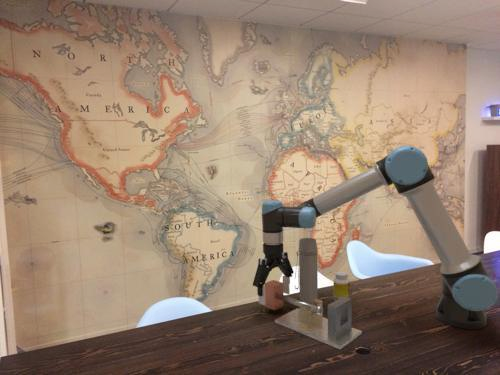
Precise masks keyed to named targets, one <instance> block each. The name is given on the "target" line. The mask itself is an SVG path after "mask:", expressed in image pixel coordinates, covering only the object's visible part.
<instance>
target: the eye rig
mask: <svg viewBox="0 0 500 375" xmlns="http://www.w3.org/2000/svg"><path fill="white" fill-rule="evenodd" d="M352 301H353V300H352V298H350V297H349V298H347V297H344V296H343V297H341V298H339V299H338V300H336V301H335V300H334V301H333V302H331V303H329V304H327V317H324V316H323V315H324V314H323V313H324V312H323V313H322V314H320V315H318V314H316V313H315V312H313V311H311V306H308V305H305V304H303V305H301V306H300V307H297V308H296V309H292V310H291V311H289V312H287V313H285V314H283V315H281V316H279V317H278V318H275V319H274V323H275V324H278V325H281V326H282V327H285V328H286V329H290V330H292V331H294V332H297V333H299V334H301V335H305V336H307V337H309V338H311V339H314V340H316V341H319V342H321V343H323V344H326V345H328V346H330V347H333V348H336V349H338V350H341V349H343V348H345V347H346V346H347V345H349V344H350V343H352V342H353V341H354V340H355V339H357V338H358V337H359V336H360V335H362V333H363V332H362V331H363V330H361V329H357V328H354V327H352V324H353V323H352V316H353V315H352V313H353V311H352V310H353V309H352V308H353V307H352ZM312 305H315V306H321V307H322V308H323V300H321V299H319V298H318V299H316V298H315V299H313V300H312Z"/></svg>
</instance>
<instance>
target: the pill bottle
mask: <svg viewBox="0 0 500 375" xmlns="http://www.w3.org/2000/svg"><path fill="white" fill-rule="evenodd" d="M334 276H335V278H333V300H334V301H336V300H338V299H339V298H341V297H343V296H344V297H347V298H350V279H349V278H348V277H349V276H348V273H347V272H344V271H337V272H335V274H334Z"/></svg>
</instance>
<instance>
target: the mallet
mask: <svg viewBox="0 0 500 375" xmlns="http://www.w3.org/2000/svg"><path fill="white" fill-rule="evenodd" d="M264 287H265V300H266V305H264V307H265V308H267V309H270V310H273V311H277V310H279V309H281V308H283V307H285V306H284V305H285V304H284V302H285V303H287V304H291V305H294V306H297V307H298V308H300V306H301V305H303V304H305V305H308V306H311V311H313V312H315V313H316V314H318V315H320V314H322V313H324V308H323V306H322V307H321V306H315V305H312V304H309V303H306V302H303V301H301V300H300V299H296V298H294V297H290V296H287V295H286V294H284V293H283V281H282V282H281V281H279V280H275V279H272V280H269V281H267V282H265V284H264Z"/></svg>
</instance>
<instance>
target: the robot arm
mask: <svg viewBox="0 0 500 375" xmlns="http://www.w3.org/2000/svg"><path fill="white" fill-rule="evenodd" d="M435 180H436V176H435V175H434V173H433V171H432V169H431V168H430V165H429V162H428V158H427V156H426V154H425V152H423V151H422V150H420V149H419V148H418V147H415V146H412V145H401V146H398V147H396V148H394V149H392V150H391V151H390V152H389V153H388V154H387V155H386V156H384V157H383V158H381V159H379V160H378V161H375V162H374V165H373V166H372V167H370V168H368V169H366V170H364V171H363V172H360V173H358V174H356V175H355V176H352V177H351V178H349V179H346V180H345V181H343V182H341V183H339V184H337V185H335V186H334V187H331V188H329V189H328V190H326V191H324V192H322V193H319V194H318V195H316V196H313V197H311V198H310V199H308V200H306V201H303V202H301V203H300V204H298V205H297V206H283V203H282V201H280V200H266V201H263V202H262V204H261V221H262V223H261V224H262V242H263V244H262V253H263V254H264V258H258V260H257V261H258V262H257V268H256V271H255V275H254V277H253V282H252V286H253V287H256V288H257V296H258V304H260V305H263V306H265V305H266V300H265V287H264V284H265V283H267V282H266V281H267V280H268V277H269V274H270V273H271V272H272V270H273V269H276V268H278V269H279V271H281V273H282V274H283V275H282V283H283V294H285V295H286V294H287V295H290V294H291V292H290V284H291V278H292V277H293V274H294V269H293V267H292V264H291V262H290V259H289V254H288V251H284V243H283V242H284V228H291V229H292V228H295V229H304V230H305V229H313V228H315V226H316V223H317V219H318V218H319V217H321V216H323V215H324V214H327V213H329V212H331V211H333V210H335V209H337V208H339V207H341V206H343V205H346V204H348V203H350V202H352V201H354V200H356V199H358V198H360V197H362V196H365V195H366V194H368V193H371V192H373V191H375V190H377V189H379V188H381V187H383V186H387V187H389V186H392V185H393V186H394V187H395V190H396V191H397V193H398V194H399V196H400V195H401V196H403V197H406V200H407V201H408V204H409V205H410V206H411V208H412V211H413V213H414V214H415V216H416V218H417V220H418V222H419V224H420V225H421V227H422V229H423V231H424V233H425V235H426V237H427V238H428V241H429V242H430V244H431V246H432V248H433V250H434V252H435V253H436V256H437V257H438V259H439V261H440V263H441V267H440V269H439V271H440V272H439V273H440V274H441V277H442V278H441V279H442V280H441V282H442V284H441V295H440V299H439V301H438V303H437V306H436V308H435V316H436V318H437V319H438V320H440V321H441V322H442V323H444V324H447V325H450V326H453V327H456V328H461V329H467V330H478V329H479V330H480V329H482V328H485V327H486V326H487V325H488V323H487V321H488V320H487V319H488V318H487V317H488V316H487V314H486V312H485V310H486V311H487V310H488V309H490V308H491V307H493V306H494V305H495V304H496V302H497V300H498V297H499V291H498V288H497V287H498V286H497V284H496V283H495V282H494V280H493V279H492V278H491V277H490V275H489V274H488V272H487V270H486V268H485V267H484V262H483V258H482V257H481V256H479V255H477V254H471V252H470V251H469V248H468V247H467V244H466V243H465V241H464V240H463V238H462V235H461V234H460V232H459V230H458V228H457V226H456V225H455V223H454V221H453V219H452V217H451V216H450V214H449V212H448V210H447V208H446V206H445V204H444V203H443V201H442V199H441V197H440V195H439V194H438V191H437V189H436V187H435V186H434V183H435Z"/></svg>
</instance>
